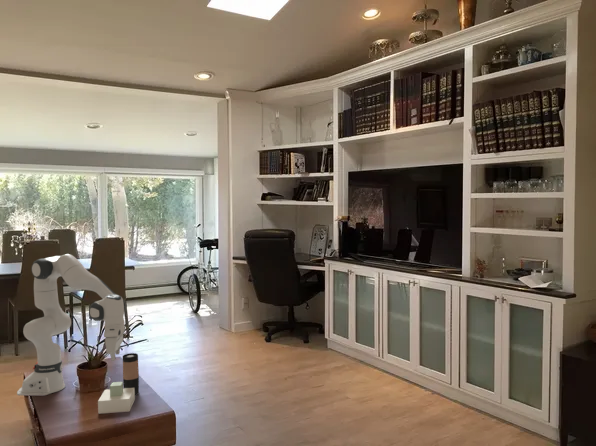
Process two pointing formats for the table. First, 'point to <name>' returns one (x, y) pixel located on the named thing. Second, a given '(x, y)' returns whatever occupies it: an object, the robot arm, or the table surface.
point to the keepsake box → (116, 401)
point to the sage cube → (116, 389)
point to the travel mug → (131, 371)
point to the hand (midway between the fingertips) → (115, 357)
